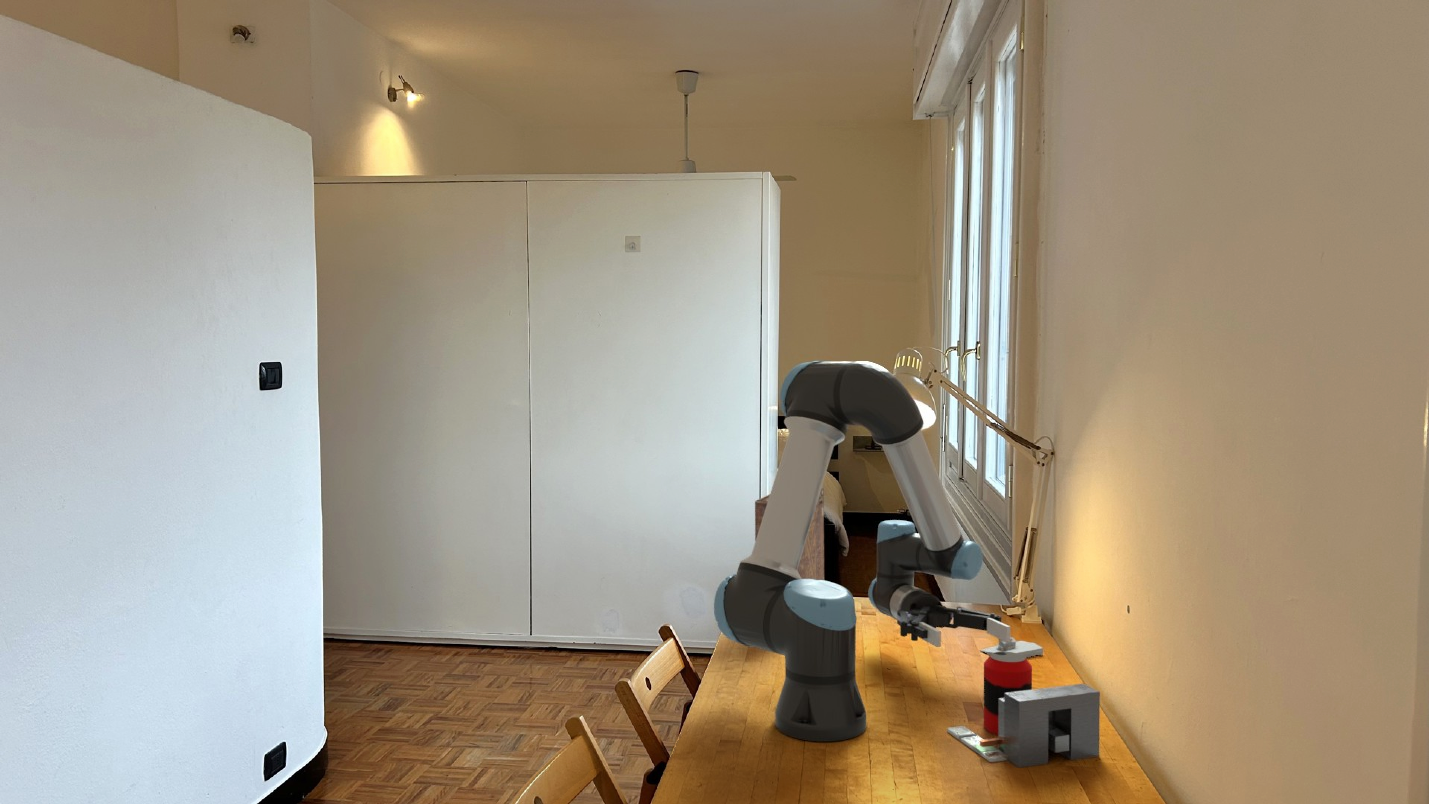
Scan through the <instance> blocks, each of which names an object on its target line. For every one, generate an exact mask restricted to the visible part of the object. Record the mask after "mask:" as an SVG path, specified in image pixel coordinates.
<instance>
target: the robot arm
mask: <svg viewBox="0 0 1429 804" xmlns="http://www.w3.org/2000/svg"><path fill="white" fill-rule="evenodd" d="M779 400H780V401H781V403H780V409H781V411H782V413H783V416H784V420H783V423H784V425H785V427H786V429H787V430H788V436H787V439H786V443H785V445H784V449H783V451H782V455H781V459H780V461H779V465H778V468H777V471H776V473H775V474H776V475H775V477H774V480H773V483H772V488H771V490H770V496H769V500H768V503H767V506H766V509H765V513H764V516H763V519H762V522H761V525H760V529H759V532H758V535H757V538H756V541H755V540H754V541H755V542H754V544H753V548H752V552H751V554H750V555H749V556H747V557H746V558H744V559H742V560H740V562H739V564H738V568H737V571H736V573H735V574H731V575H728V576H727V577H725V579H724V580H722V581H721V582H720V584H719V585H718V587H717V589H716V591H715V596H714V599H713V601H714V602H713V613H714V618H715V621H716V622H717V627H718V629H719V631H720V632H721V633H722V635H724V637H726V638H727V639H729V640H730V641H732V642H736V643H738V644H740V645H741V646H742V645H743V646H745V647H752V648H755V649H760V650H762V651H767V652H770V653H775V654H778V655H782V656H785V657H784V661H785V663H784V664H785V665H784V667H785V668H784V669H785V671H784V672H785V673H784V674H785V677H784V682H783V685H782V688H781V691H780V694H779V698H778V701H777V702H776V703H777V704H776V707H775V712H774V718H775V719H774V724H775V728H776V729H777V728H778V729H777V730H778V731H779V730H780V731H779V732H781V731H782V732H781V733H782V734H784V735H786V736H788V735H789V737H791V738H794V737H795V738H794V739H797V740H798V739H799V740H804V741H811V742H838V741H845V740H849V739H852V738H855V737H858V736H860V735H861V734H863V733H864V732H865V730H866V729H867V711H866V707H865V705H864V701H863V699H862V696H861V694H860V693H861V692H860V690H859V687H858V683H857V679H856V651H857V650H856V649H857V648H856V641H857V638H856V632H857V631H856V630H857V629H856V628H857V627H856V625H857V619H858V618H857V613H856V606H855V605H856V604H855V599H854V596H853V594H852V593H851V592H850V590H849V589H847V588H846V587H844V586H843V585H840V584H838V583H835V582H831V581H828V580H825V579H824V580H814V579H801V577H800V575H799V573H798V566H799V562H800V559H801V555H802V552H803V549H804V545H805V542H806V538H807V535H808V532H809V528H810V525H811V522H812V518H813V515H814V511H815V508H816V505H817V501H818V498H819V495H820V491H821V488H823V484H824V481H825V477H826V473H827V471H828V467H829V464H830V460H831V457H832V455H833V451H834V447H835V446H837V445H839V444H840V443H842V442H844V441H845V439H846V436H847V432H848V429H849V426H860V427H863V428H864V429H866V430H867V431H869V433H870V435H871V438H872V440H873V442H874V443H876V444H877V445H879V446H881V447H882V450H883V452H884V454H885V457H886V459H887V461H888V463H889V466H890V468H891V471H892V473H893V476H894V478H895V480H896V482H897V485H898V488H899V489H900V492H901V494H902V496H903V499H904V501H905V503H906V506H907V508H908V512H909V513H910V516H911V518H912V521H913V522H912V521H907V520H900V519H898V520H897V519H892V520H891V519H890V520H884V521H880V523H879V524H878V528H877V537H876V539H877V540H876V574H875V575H876V577H875V578H874V579H873V580H872V581H871V583H870V585H869V588H868V593H867V594H868V595H867V596H868V600H869V602H870V604H871V605H872V607H874V608H875V609H876V610H878V611H879V612H880V613H882V615H886V616H888V617H891V618H893V619H894V620H896V623H897V625H899V626H900V628H899V629H900V630H899V631H900V632H899V633H900V636H901V637H903V638H904V637H908V635H910V638H911V639H910V640H911V641H912V642H913V641H914V642H917V641H919V639H921V640H922V641H925V642H926V643H929V644H931V645H932V646H934V647H935V648H941V646H942V631H941V630H939V629H940V628H941V629H942V628H949V629H954V630H955V629H957V628H959V627H960V628H966V629H972V630H979V631H985V632H986V634H989V635H991V636H993V637H995V638H999V639H1001V640H1003V641H1005V642H1010V636H1011V626H1010V625H1007V624H1006V623H1003V622H1002V616H1001V615H998V614H995V613H994V612H992V613H989V612H982V611H978V610H973V609H968V608H966V607H963V606H957V607H956V608H950V607H947V606H945V605H943V604H942V602H941V600H940V599H939V598H938V597H937V596H936V595H934V594H932V593H930V592H928V591H925V590H924V589H921V588H919V587H916V586H915V585H914V584H915V583H914V579H915V572H916V573H923V574H929V575H933V576H939V577H943V578H944V577H945V578H947V579H948V578H949V579H951V580H963V581H964V580H966V581H970V580H974V579H975V578H976V577H977V576H978V575H979V573H980V572H981V570H982V568H983V567H982V566H983V561H984V559H983V558H984V556H983V555H984V554H983V550H982V547H981V546H980V545H979V544H978V543H977V542H975V541H972V540H970V539H964V537H963V534H962V532H961V530H960V528H959V525H958V522H957V519H956V517H955V515H954V513H953V510H952V506H951V504H950V501H949V499H948V496H947V494H946V491H945V489H944V486H943V483H942V482H941V477H940V476H939V474H938V471H937V468H936V466H935V464H934V460H933V458H932V456H931V453H930V451H929V448H928V445H927V442H926V440H925V438H924V434H923V431H922V430H923V428H924V424H925V423H924V418H923V417H922V414H921V412H920V409H919V407H918V405H917V403H916V401H915V399H914V397H913V396H912V394H911V393H910V392H909V391H908V389H907V388H906V386H905V385H904V384H903V383H902V382H901V381H900V380H899V379H898V378H897V376H895V375H894V374H893V373H892V372H890V371H889V370H888V369H886V368H884V367H883V366H882V365H879V364H877V363H874V362H871V361H866V360H865V361H863V360H860V361H858V360H857V361H825V360H814V361H807V362H802V363H799V364H798V365H795V366H794V367H793V368H792V369H790V370H789V371H788V373H787V374H786V376H785V377H784V379H783V381H782V384H781V387H780V391H779ZM916 530H917V531H916ZM917 532H918V533H917ZM951 622H952V623H951ZM937 628H939V629H937ZM999 639H998V640H999Z"/></svg>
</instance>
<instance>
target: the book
mask: <svg viewBox="0 0 1429 804" xmlns="http://www.w3.org/2000/svg"><path fill="white" fill-rule="evenodd" d="M824 492H825V491H824V487H822V488H821V491H820V495H819V498H818V501H817V505H816V508H815V511H814V515H813V518H812V522H811V525H810V528H809V532H808V535H807V538H806V542H805V545H804V549H803V552H802V555H801V559H800V562H799V566H798V573H799V575H800V577H801V579H814V580H824V581H825V522H824V521H825V519H824V518H825V513H824V512H825V510H824V509H825V505H824V504H825V501H824V500H825V499H824V496H825V495H824V494H825V493H824ZM769 496H770V494H767V495H764V496H763V497H761V498H759V499H757V500H754V519H755V520H754V527H755V528H754V536H755V537H754V538H755V539H754V541H756V538H757V535H758V532H759V529H760V525H761V522H762V519H763V516H764V513H765V509H766V506H767V503H768V500H769Z"/></svg>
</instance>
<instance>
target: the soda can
mask: <svg viewBox="0 0 1429 804" xmlns="http://www.w3.org/2000/svg"><path fill="white" fill-rule="evenodd" d="M1032 671H1033V666H1032V665H1031V663H1030V662H1029V661H1028V658H1026V657H1025V656H1023V655H1021V654H1018V653H1013V652H995V653H992V654H990V655H988V657H987V659H986V660H985V661H984V662H983V726H984V728H985V730H987V731H988V732H989V733H991V734H993V735H996V736H998V707H999V698H1004V693H1008V692H1017V691H1025V690H1033V689H1032V688H1033V672H1032Z"/></svg>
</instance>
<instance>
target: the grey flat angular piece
mask: <svg viewBox="0 0 1429 804" xmlns="http://www.w3.org/2000/svg"><path fill="white" fill-rule="evenodd" d="M996 638H997V637H996ZM997 639H998V644H995V645H994V646H991V647H990V646H989V647H986V648H982V649H980V650H981V651H982V652H981V651H980V652H981V653H983V652H986V653H987V654H988V656H990V654H992V653H995V652H1013V653H1018V654H1021V655H1023V656H1025V657H1026V659H1028V658H1032V657H1031V656H1034V657H1036V656H1035V655H1041V656H1044V647H1042V646H1040V645H1039V644H1038V643H1035V642H1028V641H1024V640H1018V641H1017V640H1016V639H1015V638H1014V637H1013V636H1012V635H1010V642H1005V641H1003V640H1001V639H999V638H997ZM987 654H986V655H987ZM1027 657H1028V658H1027Z"/></svg>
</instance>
